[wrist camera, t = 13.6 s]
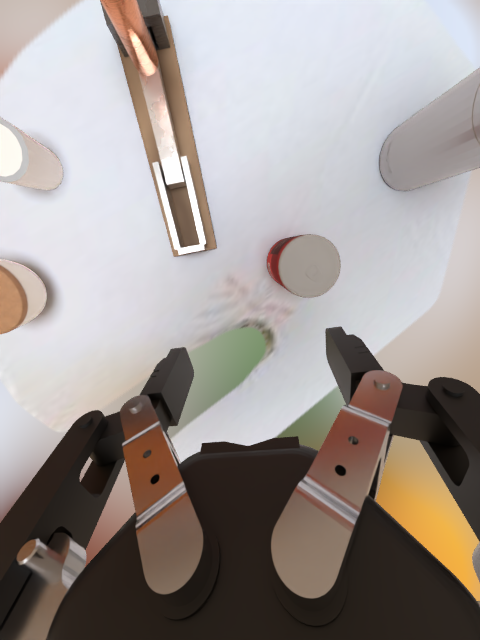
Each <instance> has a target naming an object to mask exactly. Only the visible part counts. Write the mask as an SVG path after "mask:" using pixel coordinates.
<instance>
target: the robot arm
mask: <svg viewBox="0 0 480 640" xmlns="http://www.w3.org/2000/svg"><path fill="white" fill-rule="evenodd" d="M477 168H480V68H478V69H477V70H476V71H474V72H473V73H471V74H470V75H469V76H467V77H466V78H465V79H463V80H462V81H460V82H459V83H458V84H456V85H455V86H453V87H452V88H451V89H449V90H448V91H447V92H445V93H444V94H442V95H441V96H440V97H438V98H437V99H435V100H434V101H433V102H431V103H430V104H429V105H427V106H426V107H424V108H423V109H422V110H420V111H419V112H417V113H416V114H415V115H413V116H412V117H411V118H409V119H408V120H406V121H405V122H404V123H402V124H401V125H400V126H398V127H397V128H395V129H394V130H393V132H392V133H391V134H390V135H389V136H388V138H387V139H386V141H385V143H384V145H383V147H382V150H381V154H380V171H381V174H382V177H383V179H384V181H385V182H386V183H387V184H388V185H389V186H390V187H392V188H393V189H396V190H399V191H407V190H412V189H415V188H418V187H421V186H425V185H428V184H431V183H434V182H437V181H440V180H443V179H447V178H450V177H453V176H456V175H459V174H462V173H465V172H468V171H471V170H474V169H477ZM326 355H327V360H328V363H329V366H330V368H331V370H332V372H333V375H334V377H335V379H336V382H337V384H338V386H339V389H340V391H341V393H342V395H343V398H344V400H345V402H346V405H347V406H346V405H344V406H343V407H342V408H341V410H340V412H339V414H338V416H337V418H336V420H335V421H334V423H333V425H332V427H331V429H330V431H329V433H328V435H327V437H326V439H325V441H324V443H323V444H322V446H321V448H320V450H319V451H317V450H315V449H313V448H310V447H307V446H304V445H299V439H298V437H284V438H272V439H269V440H266V441H263V442H260V443H257V444H254V445H251V446H244V445H239V444H234V443H229V442H212V443H202V447H201V451H200V452H198V453H196V454H194V455H192V456H190V457H188V458H187V459H185V460H184V461H183V462H182V463H181V462H180V459H179V457H178V455H177V453H176V450H175V448H174V446H173V444H172V441H171V439H170V437H169V435H168V433H167V430H168V427H169V426H177V425H178V422H179V419H180V416H181V413H182V410H183V407H184V404H185V401H186V398H187V395H188V392H189V389H190V386H191V383H192V380H193V377H194V370H193V367H192V364H191V361H190V358H189V356H188V353H187V350H186V349H185V348H184V347H182V348H175V349H171V350H170V352H169V354H168V356H167V357H166V358H164V359H163V360H161V361H160V362H159V363H158V364H157V366H156V367H155V369H154V372H153V373H152V374H151V376H150V378H149V380H148V381H147V383H146V385H145V387H144V388H143V390H142V392H141V394H140V395H139V396H136V397H133V398H131V399H130V400H128V401H127V402H126V403H125V404H124V405H123V406H122V408H121V410H120V412H117V413H115V414H111V415H109V416H106V417H105V416H104V415H103V413H102V412H101V411H99V410H95V411H91V412H88V413H86V414H84V415H83V416H81V417H80V418H79V419H78V420H76V421H75V423H74V424H73V425H72V426H71V428H70V429H69V430H68V432H67V433H66V434H65V436H64V438H63V439H62V440H61V441H60V443H59V444H58V445H57V447H56V448H55V450H54V451H53V452H52V454H51V455H50V456H49V458H48V459H47V460H46V462H45V463H44V465H43V466H42V467H41V469H40V470H39V471H38V473H37V474H36V475H35V477H34V478H33V479H32V481H31V482H30V484H29V485H28V486H27V488H26V489H25V490H24V492H23V493H22V494H21V496H20V497H19V499H18V500H17V501H16V503H15V504H14V505H13V507H12V508H11V509H10V511H9V512H8V513H7V515H6V516H5V517H4V519H3V520H2V522H1V523H0V640H480V601H476V599H475V598H474V597H473V595H472V594H471V593H470V592H469V591H468V589H467V588H466V587H465V586H464V585H463V584H462V583H461V582H460V580H459V579H458V578H457V577H456V576H455V575H454V574H453V573H452V572H451V571H450V570H448V569H447V568H446V567H445V566H444V565H443V564H442V563H441V562H440V561H439V560H438V559H437V558H435V557H434V556H433V555H432V554H431V553H430V552H429V551H428V550H427V549H426V548H425V547H424V546H423V545H422V544H421V543H419V542H418V541H417V540H416V539H415V538H414V537H413V536H412V535H411V534H410V533H409V532H408V531H407V530H406V529H405V528H403V527H402V526H401V525H400V524H399V523H398V522H397V521H396V520H395V519H394V518H393V517H392V516H391V515H390V514H388V513H387V512H386V511H385V510H384V509H383V508H382V507H381V506H380V505H379V504H378V503H377V502H376V497H377V494H378V490H379V486H380V482H381V478H382V474H383V470H384V467H385V463H386V460H387V457H388V453H389V450H390V447H391V443H392V440H393V436H394V435H397V436H402V437H407V438H411V439H416V440H420V442H421V444H422V445H423V447H424V449H425V450H426V452H427V454H428V455H429V457H430V459H431V460H432V462H433V464H434V465H435V467H436V469H437V471H438V472H439V474H440V476H441V477H442V479H443V481H444V482H445V484H446V486H447V487H448V489H449V491H450V492H451V494H452V496H453V498H454V499H455V501H456V502H457V504H458V506H459V508H460V509H461V511H462V513H463V514H464V516H465V518H466V519H467V521H468V523H469V524H470V526H471V528H472V529H473V531H474V533H475V534H476V536H477V538H478V539H479V541H480V394H479V393H478V392H477V391H476V390H475V389H474V388H473V387H471V386H470V385H468V384H466V383H464V382H462V381H459V380H456V379H453V378H446V377H439V378H434V379H432V380H431V381H430V382H429V384H428V386H420V385H412V384H406V383H402V382H401V380H400V379H399V378H398V377H397V376H395V375H393V374H391V373H389V372H386V371H384V370H383V369H382V367H381V366H380V365H379V363H378V362H377V360H376V359H375V358H374V356H373V355H372V353H371V352H370V351H369V349H368V348H367V347H366V345H365V344H364V343H363V341H362V340H361V339H360V338H358V337H356V336H355V335H346V333H345V332H344V330H343V329H342V327H334V328H327V329H326ZM89 456H90V458H91V459H92V460H93V461H92V462H91V464H90V466H89V468H88V470H87V471H86V473H85V475H84V477H83V479H82V480H81V482H80V480H79V477H80V473H81V470H82V468H83V466H84V465H85V463H86V461H87V460H88V458H89ZM124 460H125V462H126V467H127V472H128V477H129V481H130V486H131V492H132V497H133V502H134V507H135V513H134V514H133V515H132V516H131V518H130V519H129V520H128V521H127V522H126V523H125V524H124V525H123V526H122V528H121V529H120V530H119V531H118V532H117V533H116V534H115V535H114V536H113V537H112V538H111V540H110V541H109V542H108V543H107V544H106V545H105V546H104V547H103V548H102V549H101V550H100V552H99V553H98V554H97V555H96V556H95V557H94V558H93V559H92V560H91V561H90V563H89V564H88V565H87V566H86V567H85V564H86V552H85V550H86V547H87V545H88V543H89V541H90V538H91V536H92V534H93V531H94V529H95V527H96V525H97V522H98V520H99V518H100V516H101V513H102V511H103V509H104V506H105V504H106V502H107V499H108V497H109V495H110V492H111V490H112V488H113V486H114V484H115V481H116V479H117V476H118V474H119V472H120V470H121V468H122V465H123V463H124ZM472 560H473V566H474V570H475V572H476V574H477V577H478V579H479V582H480V542H479V544H478V545H477V547H476V548H475V550H474V552H473V556H472ZM84 567H85V568H84Z"/></svg>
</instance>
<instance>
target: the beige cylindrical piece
mask: <svg viewBox="0 0 480 640" xmlns="http://www.w3.org/2000/svg"><path fill="white" fill-rule="evenodd" d="M62 178H63V168H62V165H61V163H60V161H59V159H58V158H57V157H56V155H55V154H54V153H53V152H52V151H50V150H49V149H47V148H46V147H44V146H43V145H41V144H40V143H39V142H37V141H36V140H34V139H33V138H31V137H30V136H28V135H27V134H25V133H24V132H23V131H21V130H20V129H18V128H17V127H15V126H14V125H12V124H11V123H9V122H8V121H6V120H4V119H3V118H1V117H0V182H5V183H11V184H16V185H21V186H27V187H32V188H37V189H43V190H52V189H56V188H57V187H58V186H59V185H60V184H61V181H62Z"/></svg>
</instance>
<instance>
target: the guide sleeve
mask: <svg viewBox="0 0 480 640" xmlns="http://www.w3.org/2000/svg"><path fill="white" fill-rule="evenodd" d="M180 158H181V162H182V166H183V171H184V175H185V179H186V184H187V188H188V192H189V197H190V201H191V206H192V210H193V214H194V219H195V223H196V227H197V232H198V236H199V241H200V245H195V246H190V247H185V248H184V244H183V240H182V236H181V232H180V228H179V224H178V220H177V216H176V212H175V208H174V204H173V200H172V196H171V192H170V188H169V186H168V185H167V183H166V179H165V175H164V171H163V168H162V166H161V165H160V163H159V162H154V163H152V164H153V168H154V172H155V176H156V179H157V183H158V187H159V191H160V195H161V198H162V202H163V206H164V210H165V214H166V217H167V221H168V225H169V229H170V233H171V237H172V240H173V244H174V248H175V250H176V249H178V252H179V255H180V254H186V253H191V252H196V251H201V250H206V245H205V244H208V242H207V238H206V233H205V229H204V224H203V219H202V215H201V210H200V206H199V201H198V197H197V192H196V188H195V183H194V178H193V174H192V169H191V165H190V162H189V160H188V158H187V156H183V157H180Z"/></svg>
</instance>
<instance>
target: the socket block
mask: <svg viewBox="0 0 480 640" xmlns="http://www.w3.org/2000/svg"><path fill="white" fill-rule="evenodd" d="M100 2H101V1H100ZM137 2H138V5H139V8H140V10H141V13H142V16H143V18H144V21H145V24H146V26H147V27H150V26H151V30H152V34H153V39H154V43H155V47H156V51H157V50H162V49H167V48H170V43H169V39H168V34H167V29H166V25H165V20H164V16H163V12H162V9H161V5H160V2H159V0H137ZM101 5H102V3H101ZM102 9H103V13H104V16H105V20H106V24H107V26H108V28H109V30H110V32H111V33H112V35H113V37H114V39H115V41H116V43H117V44H118V46H119V48H120V50H121V52H122V53H123V55H124V57H129V54H128V52H127V50H126V49H125V47H124V45H123V43H122V41H121V39H120V37H119V35H118V33H117V31H116V29H115V28H114V26H113V24H112V22H111V20H110V18H109V16H108V14H107V12H106V10H105V8H104V7H103V5H102Z"/></svg>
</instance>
